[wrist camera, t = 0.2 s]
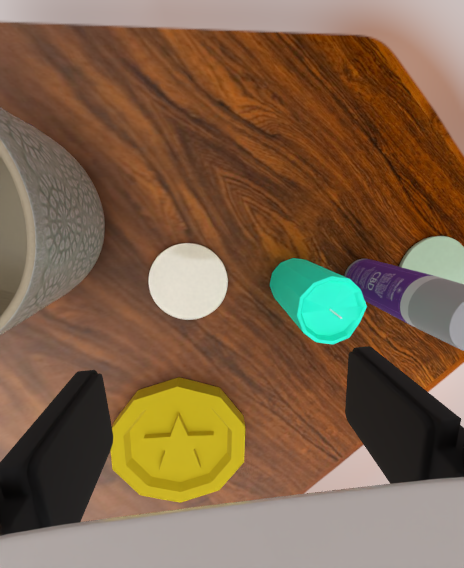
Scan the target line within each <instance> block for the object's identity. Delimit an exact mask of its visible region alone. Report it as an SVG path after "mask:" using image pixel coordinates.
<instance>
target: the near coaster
mask: <svg viewBox="0 0 464 568" xmlns="http://www.w3.org/2000/svg"><path fill="white" fill-rule="evenodd" d="M148 282H149V289H150V293H151V296H152V298H153V300H154V301H155V303H156V304H157V305H158V306H159V307H160V308H161V309H162V310H163V311H164V312H166V313H167V314H169V315H171V316H173V317H176V318H179V319H186V320H192V319H198V318H202V317H204V316H207V315H208V314H210V313H212V312H213V311H214V310H215V309H216V308H217V307H218V306H219V305H220V304H221V302H222V301H223V299H224V297H225V295H226V291H227V286H228V279H227V273H226V269H225V267H224V265H223V263H222V261H221V260H220V258H219V257H218V256H217V255H216V254H215V253H214V252H213V251H211V250H210V249H208V248H206V247H204V246H202V245H199V244H194V243H181V244H177V245H174V246H171V247H169V248H167V249H166V250H164V251H163V252H162V253H161V254H160V255H159V256H158V257H157V258H156V259H155V261H154V262H153V264H152V266H151V269H150V272H149V279H148Z"/></svg>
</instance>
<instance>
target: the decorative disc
mask: <svg viewBox="0 0 464 568" xmlns="http://www.w3.org/2000/svg"><path fill="white" fill-rule="evenodd" d="M112 431H113V444H112V447H111V459H112V469H113V470H114V471H115V472H116V473H117V474H118V475H119V476H120V477H121V478H122V479H123V480H124V481H126V482H127V483H128V484H129V485H130V486H131V487H132V488H133V489H134V490H135V491H136V492H137V493H138V494H140V495H142V496H147V497H153V498H158V499H163V500H169V501H174V502H180V503H181V502H184V501H187V500H190V499H193V498H196V497H200V496H203V495H206V494H209V493H212V492H215V491H218V490H220V489H221V488H222V486H223V485H224V484H225V483H226V482H227V481H228V480H229V478H230V477H231V476H232V475H233V474H234V473H235V472H236V470H237V469H238V468H239V467H240V466H241V465H242V464H243V462H244V446H245V423H244V417H243V415H242V414H241V413H240V411H239V410H238V409H237V408H236V407H235V405H234V404H233V403H232V402H231V400H230V399H229V398H228V397H227V396H226V394H225V393H224V392H223V391H222V390H221V388H219V387H215V386H211V385H207V384H204V383H200V382H196V381H192V380H188V379H184V378H180V377H178V378H175V379H172V380H169V381H166V382H162V383H159V384H156V385H153V386H150V387H147V388H143V389H140V390H138V391H137V392H136V393H135V395H134V396H133V397H132V399H131V400H130V401H129V403H128V404H127V405H126V407H125V408H124V409H123V410H122V412H121V413H120V414H119V416H118V417H117V418H116V420H115V421H114V423H113V425H112Z"/></svg>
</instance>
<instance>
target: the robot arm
mask: <svg viewBox="0 0 464 568" xmlns="http://www.w3.org/2000/svg"><path fill="white" fill-rule="evenodd" d="M345 413H346V418H347V420H348V422H349V424H350V425H351V427H352V428H353V429H354V431H355V432H356V434H357V435H358V437H359V438H360V440H361V441H362V443H363V444H364V446H365V447H366V448H367V450H368V451H369V453H370V454H371V456H372V457H373V459H374V460H375V462H376V463H377V464H378V466H379V467H380V469H381V470H382V472H383V473H384V475H385V476H386V478H387V479H388V481H389V482H390V484H384V485H376V486H368V487H358V488H350V489H341V490H332V491H324V492H315V493H307V494H298V495H290V496H282V497H274V498H265V499H257V500H249V501H241V502H233V503H225V504H217V505H209V506H201V507H193V508H185V509H177V510H170V511H162V512H154V513H146V514H139V515H131V516H123V517H115V518H108V519H100V520H93V521H86V522H80V521H81V519H82V516H83V514H84V512H85V509H86V507H87V505H88V502H89V500H90V497H91V495H92V493H93V490H94V488H95V486H96V483H97V481H98V478H99V476H100V474H101V471H102V469H103V466H104V464H105V462H106V459H107V457H108V455H109V452H110V450H111V447H112V444H113V431H112V426H111V420H110V415H109V409H108V404H107V399H106V393H105V388H104V382H103V377H102V375H101V374H97V372H96V371H95V370H90V371H79V372H77V373H76V374H75V375H74V376H73V377H72V379H71V380H70V381H69V382H68V383H67V384H66V386H65V387H64V388H63V389H62V390H61V392H60V393H59V394H58V395H57V396H56V397H55V399H54V400H53V401H52V402H51V403H50V404H49V406H48V407H47V408H46V409H45V410H44V412H43V413H42V414H41V415H40V416H39V417H38V419H37V420H36V421H35V422H34V423H33V425H32V426H31V427H30V428H29V429H28V430H27V432H26V433H25V434H24V435H23V436H22V438H21V439H20V440H19V441H18V442H17V443H16V445H15V446H14V447H13V448H12V449H11V450H10V452H9V453H8V454H7V455H6V456H5V458H4V459H3V460H2V461H1V462H0V568H464V428H463V427H462V426H461V425H460V422H461V418H459V417H458V416H457V415H456V414H454V413H453V412H452V411H450V410H449V409H448V408H447V407H445V406H444V405H443V404H442V403H441V402H439V401H438V400H437V399H436V398H434V397H433V396H432V395H431V394H429V393H428V392H427V391H426V390H424V389H423V388H422V387H421V386H419V385H418V384H417V383H415V382H414V381H413V380H412V379H410V378H409V377H408V376H407V375H405V374H404V373H403V372H402V371H400V370H399V369H398V368H397V367H395V366H394V365H393V364H392V363H390V362H389V361H388V360H387V359H385V358H384V357H383V356H382V355H380V354H379V353H378V352H377V351H375V350H374V349H373V348H372V347H358V348H354V349H353V352H350V353H349V359H348V375H347V392H346V409H345Z"/></svg>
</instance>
